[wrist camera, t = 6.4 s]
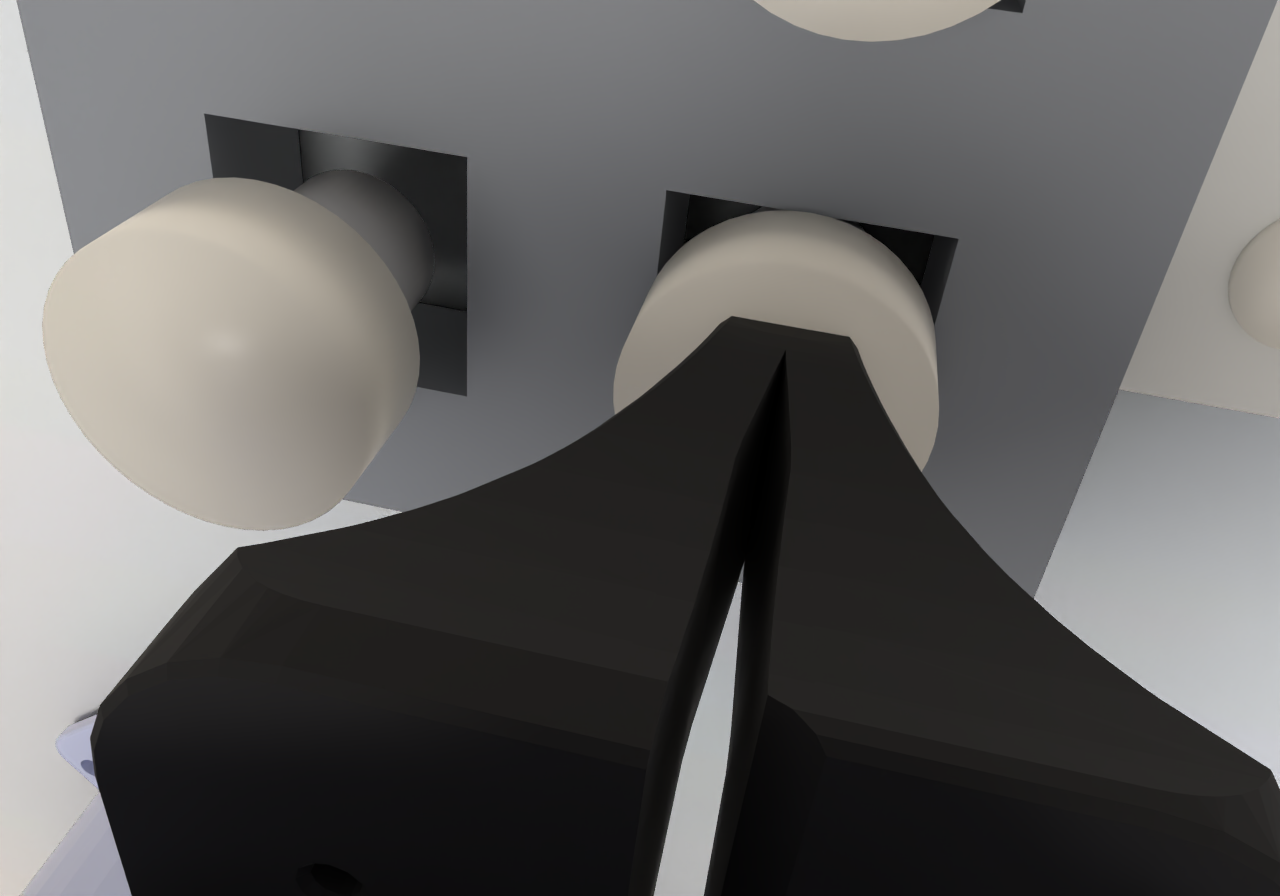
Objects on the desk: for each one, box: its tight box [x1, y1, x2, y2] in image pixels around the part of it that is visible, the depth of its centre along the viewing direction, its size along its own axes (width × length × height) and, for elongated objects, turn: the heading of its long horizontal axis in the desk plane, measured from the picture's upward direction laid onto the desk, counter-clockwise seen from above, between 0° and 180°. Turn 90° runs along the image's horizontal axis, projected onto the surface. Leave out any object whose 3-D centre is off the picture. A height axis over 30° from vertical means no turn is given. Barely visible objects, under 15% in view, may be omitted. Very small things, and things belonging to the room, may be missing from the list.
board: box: [17, 0, 1278, 599], centre depth 12 cm, size 13×13×2 cm
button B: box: [613, 206, 939, 472], centre depth 13 cm, size 3×3×4 cm
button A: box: [42, 170, 435, 531], centre depth 12 cm, size 3×3×4 cm
